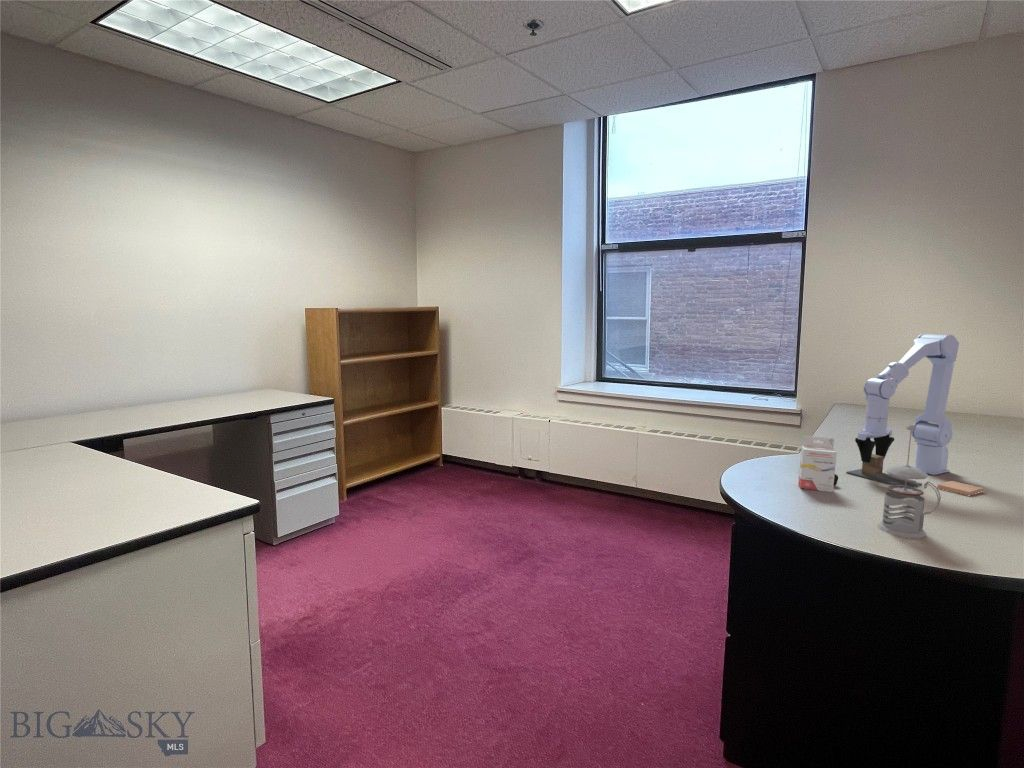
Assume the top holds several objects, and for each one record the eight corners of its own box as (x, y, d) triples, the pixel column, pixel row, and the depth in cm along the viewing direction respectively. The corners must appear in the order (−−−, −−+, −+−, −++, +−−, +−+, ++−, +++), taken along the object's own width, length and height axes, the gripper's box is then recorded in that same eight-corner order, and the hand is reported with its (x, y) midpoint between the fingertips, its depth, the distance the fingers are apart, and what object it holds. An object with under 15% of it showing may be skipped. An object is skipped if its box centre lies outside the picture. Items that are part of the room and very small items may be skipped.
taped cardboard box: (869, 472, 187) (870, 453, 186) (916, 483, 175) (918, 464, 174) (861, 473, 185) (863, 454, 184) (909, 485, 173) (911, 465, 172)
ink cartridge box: (800, 489, 170) (804, 438, 168) (798, 484, 174) (801, 435, 173) (833, 492, 167) (838, 441, 165) (830, 487, 172) (834, 437, 170)
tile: (951, 480, 176) (983, 488, 169) (951, 486, 176) (982, 493, 169) (937, 484, 172) (969, 491, 165) (937, 490, 172) (968, 497, 165)
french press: (883, 519, 145) (893, 419, 142) (940, 532, 137) (952, 426, 134) (870, 529, 139) (880, 424, 136) (930, 543, 130) (941, 432, 127)
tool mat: (861, 470, 191) (861, 468, 191) (921, 485, 175) (921, 483, 175) (846, 473, 187) (846, 471, 187) (906, 488, 172) (906, 486, 172)
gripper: (877, 413, 189) (873, 455, 191) (849, 417, 182) (846, 460, 184) (900, 417, 183) (896, 460, 185) (872, 420, 176) (868, 465, 178)
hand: (872, 460), depth 184 cm, fingers open, 7 cm apart
